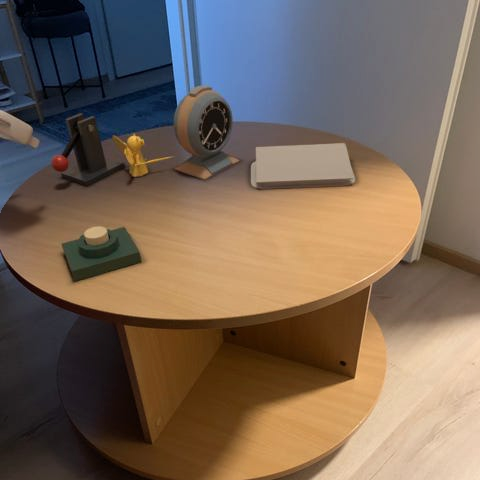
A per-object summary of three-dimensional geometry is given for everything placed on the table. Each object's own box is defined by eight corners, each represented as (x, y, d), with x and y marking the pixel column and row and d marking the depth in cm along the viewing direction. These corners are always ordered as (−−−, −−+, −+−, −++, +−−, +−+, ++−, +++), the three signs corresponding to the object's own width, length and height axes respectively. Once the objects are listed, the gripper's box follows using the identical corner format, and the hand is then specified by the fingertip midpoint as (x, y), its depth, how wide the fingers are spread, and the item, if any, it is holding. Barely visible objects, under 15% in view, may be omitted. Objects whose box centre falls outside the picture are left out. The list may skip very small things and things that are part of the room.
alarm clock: (201, 181, 114) (192, 100, 102) (171, 171, 119) (160, 92, 107) (242, 159, 122) (238, 81, 110) (213, 150, 127) (206, 75, 115)
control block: (75, 281, 87) (68, 262, 84) (64, 253, 94) (58, 234, 91) (141, 261, 90) (137, 242, 88) (126, 236, 97) (122, 218, 95)
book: (251, 160, 121) (250, 144, 119) (347, 156, 120) (348, 140, 117) (250, 189, 110) (250, 172, 107) (357, 185, 108) (359, 168, 106)
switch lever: (66, 176, 113) (55, 167, 110) (56, 173, 115) (45, 163, 111) (95, 127, 114) (85, 116, 111) (85, 124, 116) (74, 114, 113)
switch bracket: (87, 186, 115) (72, 130, 107) (62, 177, 119) (45, 123, 111) (125, 167, 122) (113, 112, 114) (100, 159, 126) (87, 106, 118)
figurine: (181, 173, 118) (176, 136, 112) (131, 185, 114) (123, 147, 108) (165, 155, 126) (159, 120, 120) (118, 166, 123) (110, 130, 117)
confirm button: (89, 249, 88) (86, 240, 87) (84, 238, 91) (81, 230, 89) (111, 242, 89) (109, 234, 88) (106, 232, 92) (103, 224, 91)
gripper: (-4, 95, 85) (59, 134, 97) (-65, 80, 95) (0, 117, 107) (-17, 130, 86) (48, 164, 98) (-77, 112, 96) (-11, 145, 108)
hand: (22, 139), depth 103 cm, fingers open, 8 cm apart
